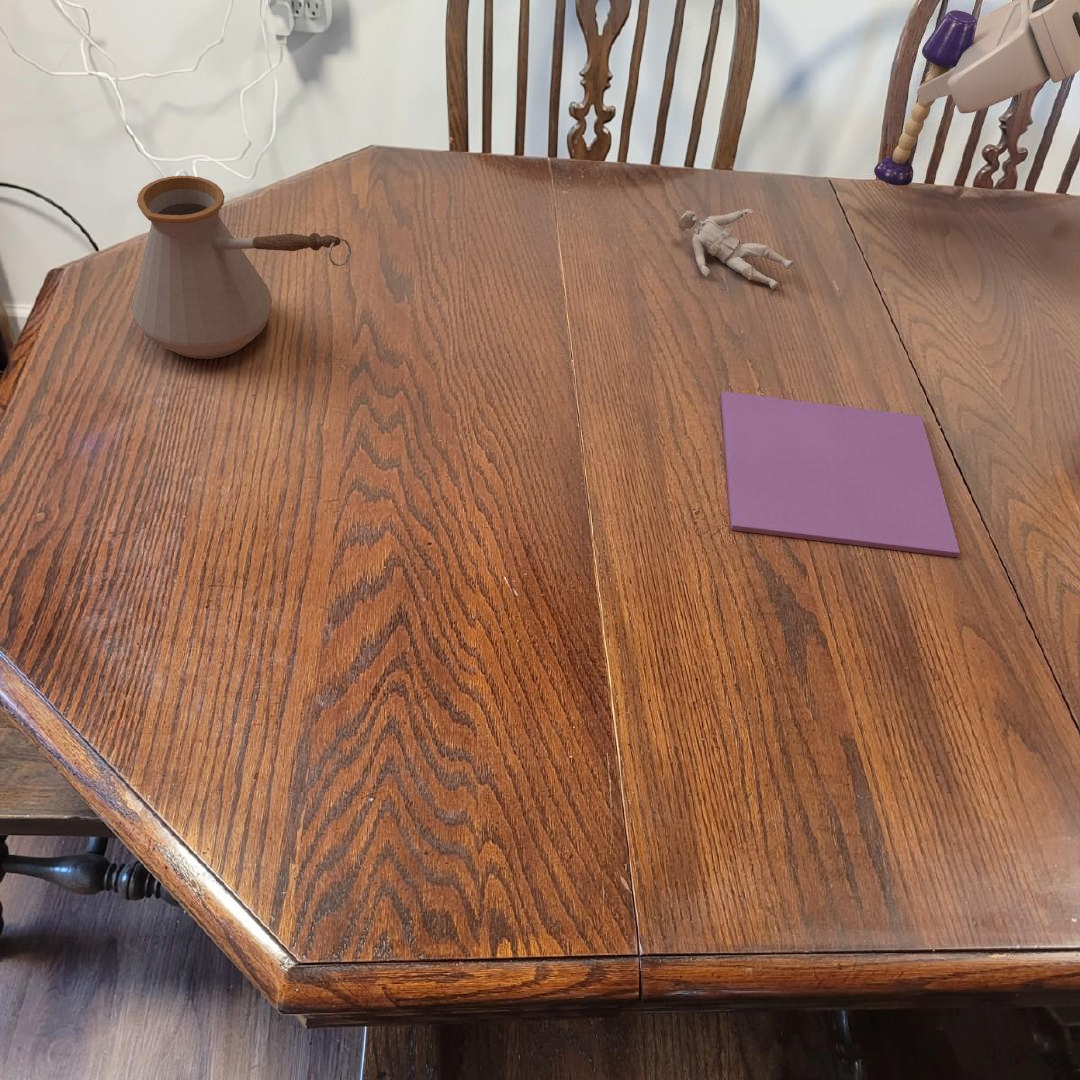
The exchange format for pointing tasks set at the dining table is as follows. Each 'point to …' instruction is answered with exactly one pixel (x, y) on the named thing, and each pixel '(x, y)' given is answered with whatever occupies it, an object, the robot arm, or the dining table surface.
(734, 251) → the soldier figure
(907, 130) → the toy lamp
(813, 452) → the mat
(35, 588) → the dining table surface
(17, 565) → the dining table surface
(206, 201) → the coffee pot
